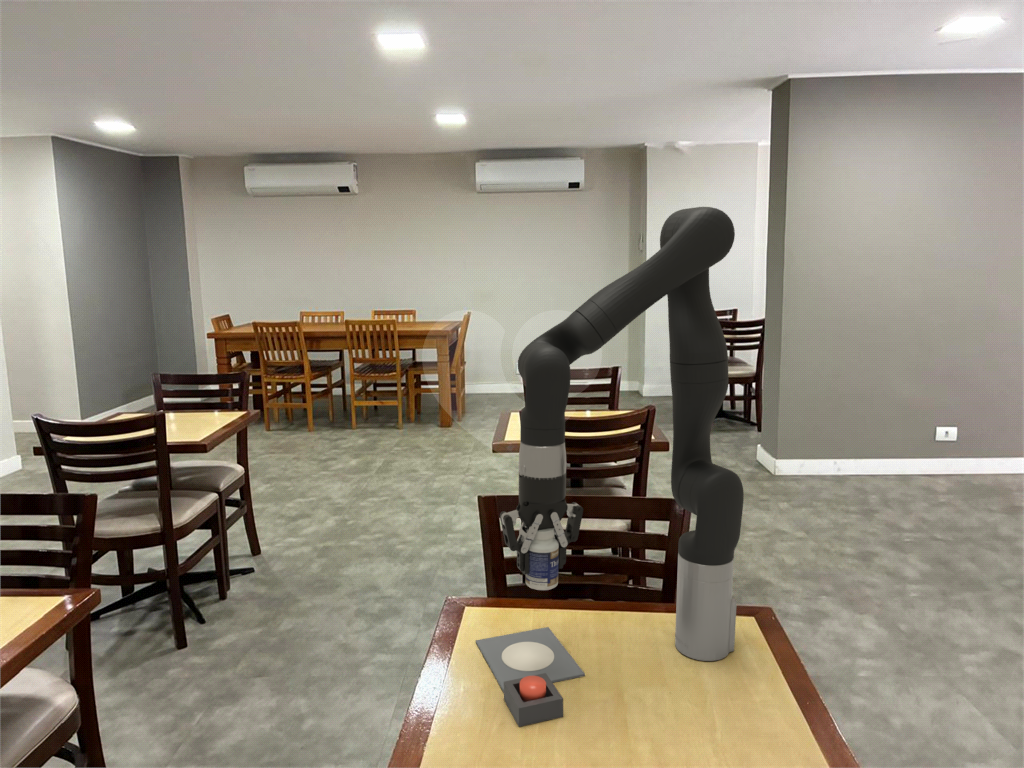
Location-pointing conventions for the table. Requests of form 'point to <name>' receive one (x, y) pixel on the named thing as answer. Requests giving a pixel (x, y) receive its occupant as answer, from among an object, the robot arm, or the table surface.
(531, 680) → the button
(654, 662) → the table surface
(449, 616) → the table surface
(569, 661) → the grey mat
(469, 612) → the table surface
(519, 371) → the robot arm
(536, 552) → the pill bottle
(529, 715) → the button housing
